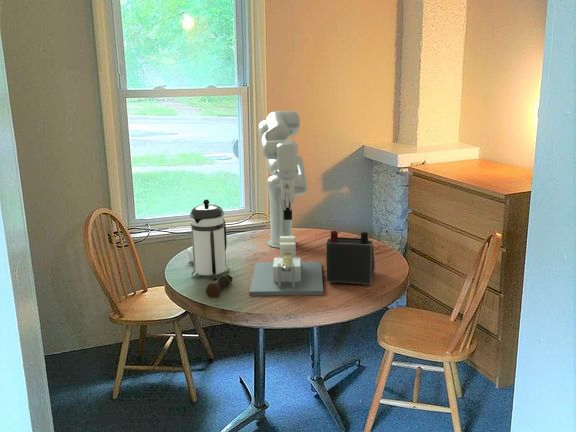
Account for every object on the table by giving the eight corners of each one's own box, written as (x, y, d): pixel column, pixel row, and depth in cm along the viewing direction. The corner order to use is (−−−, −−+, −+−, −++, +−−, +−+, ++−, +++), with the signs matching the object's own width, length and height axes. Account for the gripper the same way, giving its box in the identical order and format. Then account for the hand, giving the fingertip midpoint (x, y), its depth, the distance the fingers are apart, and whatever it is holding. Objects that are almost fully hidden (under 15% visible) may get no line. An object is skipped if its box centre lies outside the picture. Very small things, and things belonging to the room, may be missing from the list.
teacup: (205, 264, 240) (204, 251, 239) (186, 264, 240) (186, 251, 239) (209, 256, 250) (208, 244, 248) (191, 256, 250) (190, 244, 249)
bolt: (231, 287, 219) (214, 302, 205) (220, 280, 220) (203, 294, 206) (238, 275, 217) (221, 289, 203) (226, 268, 218) (209, 281, 204)
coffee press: (236, 278, 223) (232, 201, 216) (194, 283, 219) (188, 205, 211) (227, 264, 239) (223, 192, 232) (188, 268, 235) (183, 195, 227)
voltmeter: (374, 272, 227) (375, 222, 222) (370, 287, 211) (371, 234, 206) (333, 269, 230) (333, 220, 225) (326, 284, 215) (326, 232, 210)
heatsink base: (256, 265, 236) (255, 243, 234) (320, 265, 236) (320, 242, 233) (249, 295, 206) (248, 270, 204) (323, 294, 206) (323, 269, 203)
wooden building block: (283, 280, 222) (283, 253, 225) (291, 280, 221) (291, 253, 225) (281, 270, 208) (281, 241, 212) (290, 270, 208) (290, 241, 211)
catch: (280, 263, 234) (280, 236, 231) (295, 263, 234) (295, 235, 231) (280, 268, 227) (279, 240, 225) (295, 268, 227) (295, 240, 224)
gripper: (296, 177, 223) (297, 223, 228) (296, 171, 238) (297, 214, 242) (276, 177, 224) (277, 224, 228) (278, 171, 238) (279, 215, 243)
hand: (288, 219), depth 235 cm, fingers closed
